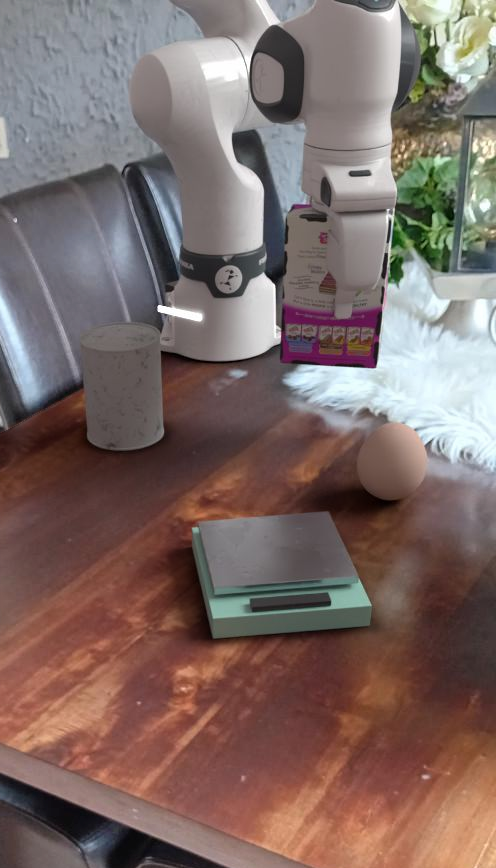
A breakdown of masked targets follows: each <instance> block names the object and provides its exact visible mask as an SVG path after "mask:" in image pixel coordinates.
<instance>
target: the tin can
mask: <svg viewBox="0 0 496 868" xmlns="http://www.w3.org/2000/svg"><path fill="white" fill-rule="evenodd" d="M160 337H161V331H160V330H159V329H158V328H157V327H155V326H154V325H150V324H147V323H144V322H143V323H142V322H135V321H115V322H108V323H107V322H106V323H102V324H98V325H95V326H92V327H90V328H87V329H85V330H83V332H81V333H80V334H79V337H78V342H79V346H80V347H79V348H80V357H81V358H80V359H81V369H82V370H81V371H82V381H83V382H82V383H83V392H84V393H83V394H84V405H85V417H86V418H85V419H86V429H87V432H86V437H87V440H88V441H89V443H91V444H92V445H93V446H95V447H97V448H99V449H103V450H107V451H109V450H110V451H119V452H120V451H123V452H125V451H135V450H141V449H144V448H148V447H150V446H152V445H155V444H156V443H157V442H159V441H160V440H161V439H162V438H163V437H164V434H165V428H164V411H163V410H164V409H163V408H164V407H163V383H162V382H163V380H162V355H161V354H162V353H161V350H160Z"/></svg>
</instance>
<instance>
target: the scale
mask: <svg viewBox="0 0 496 868" xmlns="http://www.w3.org/2000/svg"><path fill="white" fill-rule="evenodd" d="M191 546H192V553H193V557H194V561H195V566H196V570H197V574H198V579H199V583H200V588H201V591H202V598H203V600H204V605H205V609H206V614H207V618H208V622H209V627H210V632H211V637H212V639H214V640H215V639H225V638H238V637H250V636H251V637H252V636H262V635H275V634H286V633H287V634H288V633H300V632H311V631H323V630H324V631H325V630H335V629H348V628H361V627H370V625H371V616H372V608H373V606H372V604H371V601H370V598H369V596H368V594H367V593H366V592H367V591H366V590H365V588H364V586H363V583H362V582H361V580H360V578H358V583H355V584H343V585H331V586H318V587H306V588H293V589H281V590H269V591H256V592H244V593H232V594H219V595H214V593H213V589H212V585H211V581H210V576H209V572H208V568H207V564H206V560H205V556H204V552H203V548H202V543H201V539H200V535H199V531H198V526H194V527H191Z"/></svg>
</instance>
